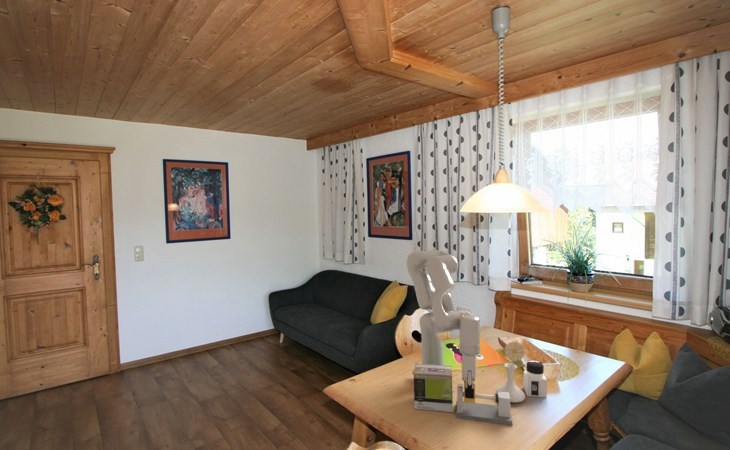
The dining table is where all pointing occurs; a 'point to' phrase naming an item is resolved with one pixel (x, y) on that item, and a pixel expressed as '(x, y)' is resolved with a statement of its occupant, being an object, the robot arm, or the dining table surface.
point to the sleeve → (468, 400)
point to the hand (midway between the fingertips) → (469, 394)
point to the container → (535, 380)
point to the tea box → (433, 387)
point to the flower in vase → (513, 353)
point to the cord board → (484, 408)
